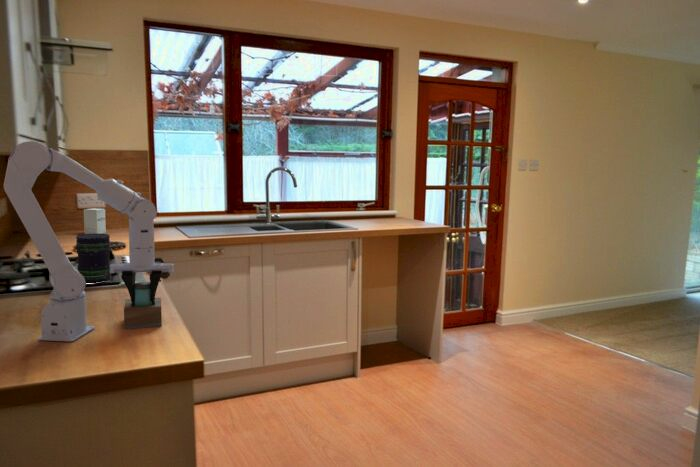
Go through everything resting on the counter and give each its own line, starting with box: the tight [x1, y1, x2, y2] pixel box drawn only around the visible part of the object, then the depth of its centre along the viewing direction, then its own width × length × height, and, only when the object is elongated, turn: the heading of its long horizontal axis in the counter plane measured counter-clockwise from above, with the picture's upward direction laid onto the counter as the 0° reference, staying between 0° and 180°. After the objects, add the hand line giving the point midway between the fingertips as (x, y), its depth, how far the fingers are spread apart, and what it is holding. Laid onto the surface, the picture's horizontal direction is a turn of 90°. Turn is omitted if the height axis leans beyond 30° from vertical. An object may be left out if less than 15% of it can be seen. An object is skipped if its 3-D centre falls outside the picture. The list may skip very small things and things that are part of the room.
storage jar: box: [75, 233, 112, 283], centre depth 165 cm, size 10×10×15 cm
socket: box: [123, 297, 163, 330], centre depth 127 cm, size 8×8×5 cm
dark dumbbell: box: [154, 257, 171, 280], centre depth 177 cm, size 6×5×15 cm
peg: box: [134, 281, 152, 307], centre depth 127 cm, size 4×4×7 cm
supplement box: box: [83, 207, 107, 234], centre depth 260 cm, size 7×7×13 cm
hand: (143, 300), depth 127 cm, fingers closed on peg, 4 cm apart
